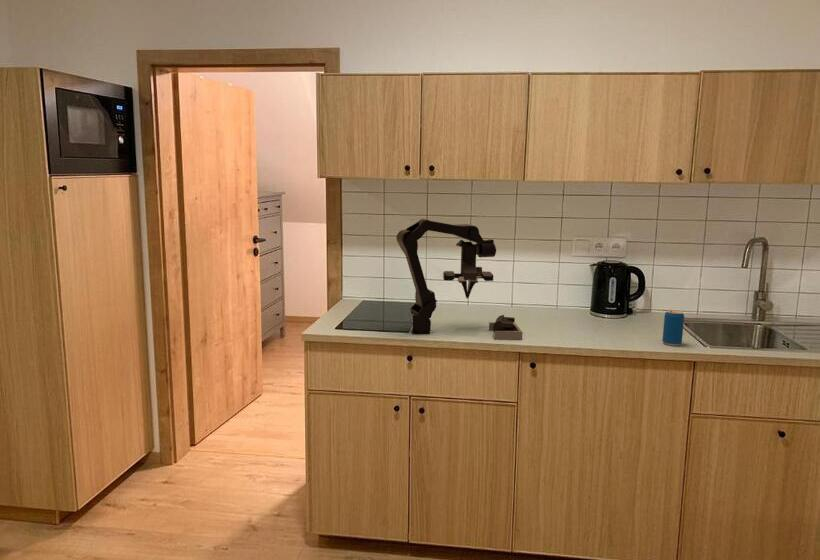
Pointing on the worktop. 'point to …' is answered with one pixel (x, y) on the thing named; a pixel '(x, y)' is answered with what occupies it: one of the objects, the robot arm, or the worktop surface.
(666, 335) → the beverage can
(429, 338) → the worktop surface
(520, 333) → the grey shallow tray
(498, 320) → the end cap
